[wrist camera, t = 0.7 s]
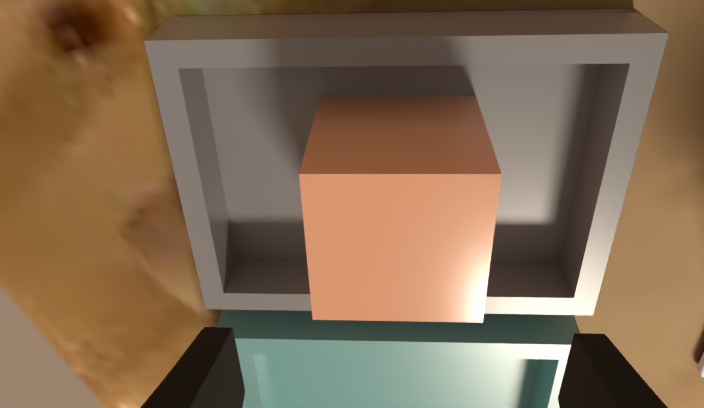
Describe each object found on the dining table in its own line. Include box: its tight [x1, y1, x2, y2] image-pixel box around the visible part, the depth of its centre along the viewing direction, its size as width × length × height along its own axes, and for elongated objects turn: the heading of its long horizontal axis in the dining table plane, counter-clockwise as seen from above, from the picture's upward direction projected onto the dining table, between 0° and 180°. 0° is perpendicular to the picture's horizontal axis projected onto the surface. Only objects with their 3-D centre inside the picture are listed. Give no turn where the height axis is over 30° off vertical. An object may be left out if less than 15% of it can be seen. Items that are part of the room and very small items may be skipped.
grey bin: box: [144, 8, 669, 315], centre depth 19 cm, size 14×10×2 cm
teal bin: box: [216, 309, 580, 408], centre depth 25 cm, size 14×10×2 cm
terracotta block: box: [299, 96, 502, 323], centre depth 18 cm, size 5×5×5 cm
